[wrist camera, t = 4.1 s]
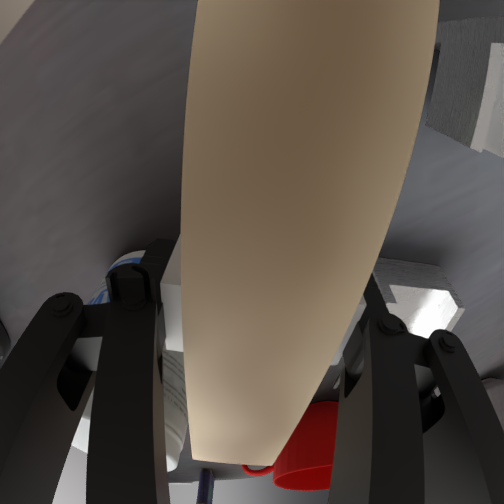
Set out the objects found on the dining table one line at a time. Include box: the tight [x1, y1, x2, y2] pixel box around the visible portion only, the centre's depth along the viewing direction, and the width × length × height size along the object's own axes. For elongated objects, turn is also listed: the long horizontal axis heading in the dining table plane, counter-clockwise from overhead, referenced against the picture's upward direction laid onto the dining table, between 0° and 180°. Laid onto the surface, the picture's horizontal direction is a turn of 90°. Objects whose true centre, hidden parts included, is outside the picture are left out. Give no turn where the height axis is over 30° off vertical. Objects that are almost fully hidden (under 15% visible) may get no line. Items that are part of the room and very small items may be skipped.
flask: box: [196, 468, 215, 504], centre depth 53 cm, size 9×3×11 cm, turn 0°
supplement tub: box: [71, 250, 188, 472], centre depth 20 cm, size 10×10×15 cm
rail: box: [181, 0, 440, 466], centre depth 10 cm, size 4×19×4 cm, turn 173°
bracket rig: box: [372, 16, 504, 338], centre depth 15 cm, size 7×24×12 cm, turn 173°
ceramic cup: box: [242, 401, 339, 491], centre depth 33 cm, size 13×17×10 cm
